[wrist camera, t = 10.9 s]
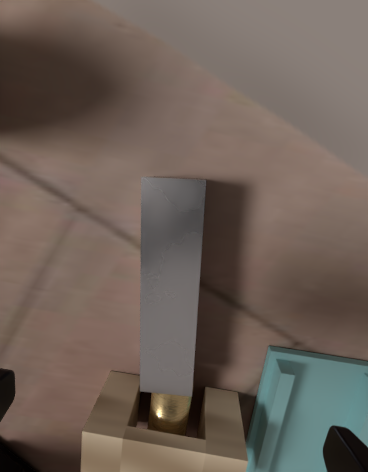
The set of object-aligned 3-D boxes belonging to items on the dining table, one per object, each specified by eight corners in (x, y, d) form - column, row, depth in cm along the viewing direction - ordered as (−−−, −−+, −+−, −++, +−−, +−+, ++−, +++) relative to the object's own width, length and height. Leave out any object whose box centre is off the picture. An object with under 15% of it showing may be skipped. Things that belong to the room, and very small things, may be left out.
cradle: (238, 472, 19) (241, 501, 17) (268, 345, 16) (276, 364, 15) (334, 490, 19) (346, 520, 17) (381, 363, 16) (401, 385, 14)
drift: (178, 469, 19) (174, 512, 17) (145, 463, 19) (136, 505, 17) (194, 368, 17) (193, 401, 14) (157, 362, 17) (149, 393, 14)
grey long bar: (193, 359, 17) (191, 396, 14) (150, 355, 18) (139, 391, 15) (205, 179, 15) (206, 180, 12) (153, 176, 15) (141, 176, 12)
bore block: (227, 437, 18) (234, 515, 14) (107, 416, 19) (80, 486, 14) (237, 392, 17) (248, 461, 13) (110, 370, 18) (82, 431, 13)
